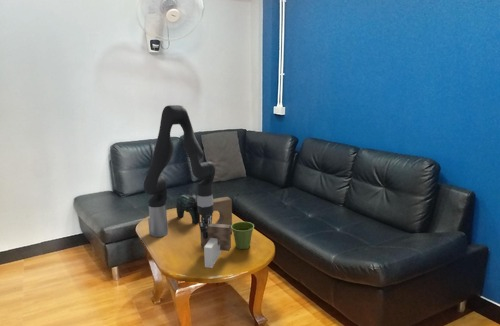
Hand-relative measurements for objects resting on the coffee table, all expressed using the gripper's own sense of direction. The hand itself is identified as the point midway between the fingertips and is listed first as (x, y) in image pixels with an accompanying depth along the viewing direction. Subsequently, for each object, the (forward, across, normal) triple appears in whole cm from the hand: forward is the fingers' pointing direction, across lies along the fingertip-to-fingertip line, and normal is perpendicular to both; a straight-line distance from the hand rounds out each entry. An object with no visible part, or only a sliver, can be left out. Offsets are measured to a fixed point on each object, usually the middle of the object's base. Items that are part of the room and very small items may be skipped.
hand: (206, 236), depth 168 cm
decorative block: (+9, -24, 0) cm, 26 cm away
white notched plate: (+9, 0, +4) cm, 10 cm away
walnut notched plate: (+6, 0, +5) cm, 7 cm away
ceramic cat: (+9, -38, -24) cm, 46 cm away
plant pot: (+9, -11, +15) cm, 21 cm away
